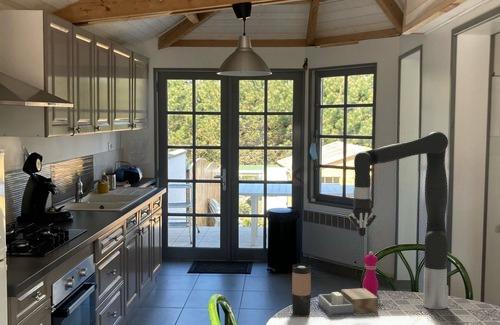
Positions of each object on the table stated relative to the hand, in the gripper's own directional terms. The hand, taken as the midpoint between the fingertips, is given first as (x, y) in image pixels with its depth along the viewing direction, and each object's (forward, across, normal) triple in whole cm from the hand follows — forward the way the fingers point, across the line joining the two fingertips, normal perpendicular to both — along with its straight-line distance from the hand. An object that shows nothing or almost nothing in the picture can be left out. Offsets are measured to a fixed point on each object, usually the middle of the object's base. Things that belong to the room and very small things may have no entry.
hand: (361, 235), depth 248 cm
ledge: (+29, +4, +9) cm, 31 cm away
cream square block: (+26, +12, +8) cm, 29 cm away
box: (+29, +15, +9) cm, 34 cm away
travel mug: (+29, +31, +12) cm, 44 cm away
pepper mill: (+29, -8, -8) cm, 31 cm away
